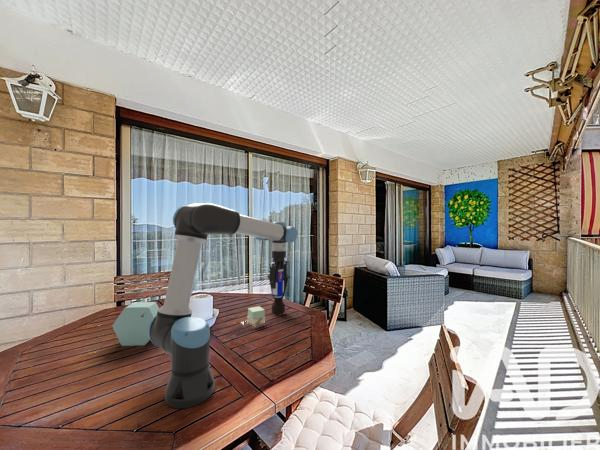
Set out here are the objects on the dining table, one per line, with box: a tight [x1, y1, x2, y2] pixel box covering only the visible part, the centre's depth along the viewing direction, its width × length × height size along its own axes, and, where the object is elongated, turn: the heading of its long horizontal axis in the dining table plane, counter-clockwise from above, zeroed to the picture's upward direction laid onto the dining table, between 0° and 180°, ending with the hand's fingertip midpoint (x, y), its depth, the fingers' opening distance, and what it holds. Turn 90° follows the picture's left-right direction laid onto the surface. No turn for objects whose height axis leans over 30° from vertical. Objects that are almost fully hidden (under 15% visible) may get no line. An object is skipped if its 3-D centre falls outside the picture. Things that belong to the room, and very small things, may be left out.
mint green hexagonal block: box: [112, 301, 160, 347], centre depth 120 cm, size 17×8×21 cm
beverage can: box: [272, 269, 283, 298], centre depth 138 cm, size 5×5×15 cm
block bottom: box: [246, 315, 266, 327], centre depth 142 cm, size 7×7×4 cm
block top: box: [247, 306, 266, 320], centre depth 142 cm, size 7×7×4 cm
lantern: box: [266, 274, 291, 315], centre depth 159 cm, size 15×15×30 cm
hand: (278, 293), depth 138 cm, fingers closed on beverage can, 5 cm apart
